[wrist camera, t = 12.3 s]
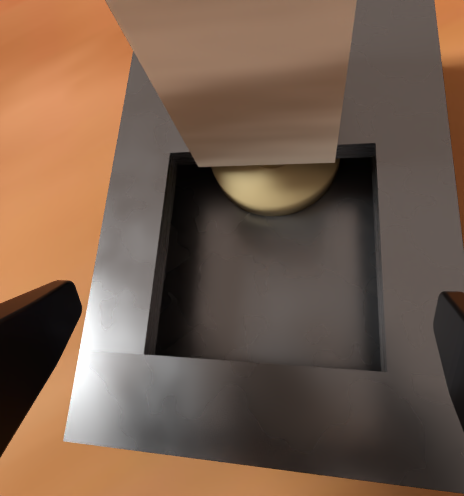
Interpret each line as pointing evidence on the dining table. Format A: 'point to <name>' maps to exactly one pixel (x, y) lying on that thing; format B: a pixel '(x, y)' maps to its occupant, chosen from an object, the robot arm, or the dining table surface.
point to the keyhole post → (250, 89)
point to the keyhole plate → (286, 288)
